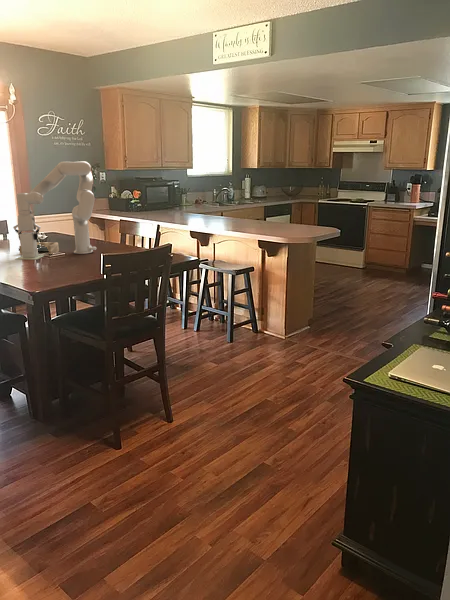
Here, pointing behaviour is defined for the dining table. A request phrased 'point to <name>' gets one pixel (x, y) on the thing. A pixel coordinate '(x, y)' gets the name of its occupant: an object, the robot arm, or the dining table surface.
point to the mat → (31, 258)
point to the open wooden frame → (50, 246)
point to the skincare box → (28, 245)
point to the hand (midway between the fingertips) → (28, 239)
